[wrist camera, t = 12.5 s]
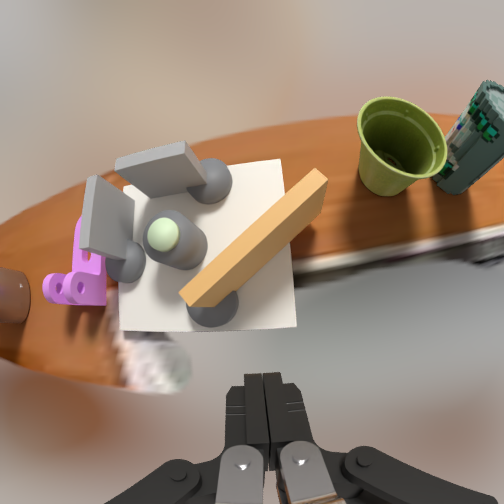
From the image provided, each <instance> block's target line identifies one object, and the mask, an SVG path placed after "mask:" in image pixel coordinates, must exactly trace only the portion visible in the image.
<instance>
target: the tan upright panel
mask: <svg viewBox="0 0 504 504" xmlns="http://www.w3.org/2000/svg"><path fill="white" fill-rule="evenodd" d="M327 183H328V179H327V178H326V177H325V176H324V175H323V174H321V173H320V172H319V171H318V170H317V169H316V168H314V169H313V170H312V171H311V172H310V173H309V174H307V175H306V176H305V177H304V178H303V179H302V180H301V181H299V182H298V183H297V184H296V185H295V186H294V187H293V188H292V189H290V190H289V191H288V192H287V193H286V194H285V195H284V196H283V197H282V198H280V199H279V200H278V201H277V202H276V203H275V204H274V205H273V206H271V207H270V208H269V209H268V210H267V211H266V212H265V213H264V214H263V215H262V216H260V217H259V218H258V219H257V220H256V221H255V222H254V223H253V224H252V225H250V226H249V227H248V228H247V229H246V230H245V231H244V232H243V233H242V234H241V235H240V236H238V237H237V238H236V239H235V240H234V241H233V242H232V243H231V244H230V245H229V246H228V247H226V248H225V249H224V250H223V251H222V252H221V253H220V254H219V255H218V256H217V257H216V258H215V259H214V260H212V261H211V262H210V263H209V264H208V265H207V266H206V267H205V268H204V269H203V270H202V271H201V272H200V273H198V274H197V275H196V276H195V277H194V278H193V279H192V280H191V281H190V282H189V283H188V284H187V285H186V286H185V287H184V288H183V289H181V290H180V291H179V292H178V293H179V294H180V295H181V297H182V298H183V299H184V300H185V302H186V308H187V311H188V313H189V315H190V317H191V318H192V319H193V320H194V321H195V322H196V323H197V324H199V325H201V326H204V327H208V328H213V327H218V326H222V325H225V324H227V323H228V322H229V321H231V320H232V319H233V317H234V316H235V314H236V312H237V309H238V304H239V300H238V295H237V292H236V291H237V290H238V289H239V288H240V287H241V286H242V285H244V284H245V283H246V282H247V281H248V280H249V279H250V278H251V277H252V276H253V275H255V274H256V273H257V272H258V271H259V270H260V269H261V268H262V267H263V266H264V265H265V264H266V263H268V262H269V261H270V260H271V259H272V258H273V257H274V256H275V255H276V254H277V253H278V252H279V251H281V250H282V249H283V248H284V247H285V246H286V245H287V244H288V243H289V242H290V241H291V240H292V239H293V238H295V237H296V236H297V235H298V234H299V233H300V232H301V231H302V230H303V229H304V228H305V227H306V226H307V225H308V224H309V223H311V222H312V221H313V220H314V219H315V218H316V217H317V216H318V215H319V214H320V213H321V210H322V205H323V201H324V197H325V192H326V188H327Z"/></svg>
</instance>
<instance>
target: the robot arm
mask: <svg viewBox="0 0 504 504" xmlns="http://www.w3.org/2000/svg"><path fill="white" fill-rule="evenodd" d="M29 306H30V289H29V284H28V281H27V278H26V276H25V275H24V274H23V273H22V272H20V271H15V270H11V269H6V268H2V267H0V322H2V323H22V322H23V321H24V320H25V319H26V317H27V314H28V311H29ZM225 423H226V424H225V447H224V450H223V451H222V453H221V454H220V455H219V456H218V457H217V458H215V459H213V460H211V461H207V462H203V463H199V464H192V463H191V462H189V461H187V460H182V459H175V460H170V461H168V462H166V463H164V464H163V465H161V466H160V467H159V468H157V469H156V470H155V471H153V472H152V473H150V474H149V475H148V476H146V477H145V478H143V479H142V480H140V481H139V482H138V483H136V484H134V485H133V486H131V487H130V488H129V489H127V490H126V491H124V492H122V493H121V494H119V495H118V496H116V497H114V498H113V499H111V500H110V501H108V502H106V503H105V504H263V488H264V478H265V471H268V463H269V471H274V470H275V471H276V479H277V482H276V489H277V493H278V497H279V502H280V504H498V502H497V500H496V499H495V498H494V497H492V496H490V495H486V494H483V493H479V492H476V491H473V490H470V489H467V488H464V487H461V486H458V485H456V484H453V483H450V482H448V481H445V480H443V479H440V478H438V477H435V476H432V475H430V474H428V473H425V472H423V471H421V470H419V469H416V468H414V467H412V466H410V465H408V464H405V463H403V462H401V461H399V460H397V459H395V458H393V457H391V456H389V455H387V454H385V453H383V452H381V451H379V450H377V449H375V448H373V447H369V446H360V447H356V448H354V449H352V450H351V451H350V452H349V453H339V452H330V451H326V450H324V449H322V448H320V447H319V446H318V445H317V444H316V443H315V442H314V440H313V437H312V433H311V430H310V426H309V422H308V418H307V414H306V411H305V406H304V403H303V398H302V395H301V391H300V390H299V389H298V388H297V386H296V385H295V384H294V383H288V384H283V383H282V378H281V373H280V372H274V373H263V376H262V374H261V373H259V374H244V386H232V387H231V388H230V390H229V392H228V393H227V395H226V421H225Z"/></svg>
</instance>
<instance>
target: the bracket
mask: <svg viewBox="0 0 504 504" xmlns="http://www.w3.org/2000/svg"><path fill="white" fill-rule="evenodd" d="M81 219H82V216H81V217H80V218H79V220H78V222H77V225H76V228H75V236H74V248H73V264H72V272H70V273H68V274H67V275H65V274H60V273H55V274H49V275H47V276H46V277H45V279H44V282H43V293H44V296H45V298H46V299H47V301H49V302H50V303H55V304H68V305H93V306H106V267H105V258H106V257H104V256H101V255H97V254H94V253H91V258H90V260H89V261H88V260H87V256H88V251H84V250H81V249H79V239H80V228H81ZM55 287H56V288H57V290H56V289H55Z"/></svg>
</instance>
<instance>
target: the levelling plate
mask: <svg viewBox="0 0 504 504" xmlns="http://www.w3.org/2000/svg"><path fill="white" fill-rule="evenodd" d="M114 171H115V172H117V173H118V174H119V175H120V176H122V177H123V178H124V179H126V180H127V181H128V182H129V183H131V184H132V185H128V186H124V190H123V192H122V191H120V190H119V189H117V188H116V187H115V186H113V185H112V184H110V183H109V182H107V181H106V180H105V179H103V178H102V177H100V176H99V175H94V176H91V177H88V178H87V184H86V190H85V196H84V203H83V211H82V219H81V228H80V239H79V249H81V250H84V251H88V252H91V253H94V254H97V255H101V256H104V257H106V258H105V267H106V271H107V273H108V275H109V276H110V278H111V279H113V280H114V281H117V282H118V286H119V321H120V330H124V331H154V332H209V331H241V330H260V329H276V328H289V327H296V326H297V323H296V309H295V295H294V283H293V271H292V260H291V249H290V242H289V243H288V244H287V245H286V246H285V247H284V248H283V249H282V250H281V251H279V252H278V253H277V254H276V255H275V256H274V257H273V258H272V259H271V260H270V261H269V262H268V263H266V264H265V265H264V266H263V267H262V268H261V269H260V270H259V271H258V272H257V273H256V274H255V275H253V276H252V277H251V278H250V279H249V280H248V281H247V282H246V283H245V284H244V285H242V286H241V287H240V288H239V289H238V290H237V291H236V292H237V295H238V300H239V304H238V309H237V312H236V314H235V316H234V317H233V319H232V320H231V321H229V322H228V323H227V324H225V325H222V326H218V327H213V328H208V327H204V326H201V325H199V324H197V323H196V322H195V321H194V320H193V319H192V318H191V317H190V315H189V313H188V311H187V308H186V302H185V300H184V299H183V298H182V297H181V295H180V294H179V293H178V292H179V291H180V290H181V289H183V288H184V287H185V286H186V285H187V284H188V283H189V282H190V281H191V280H192V279H193V278H194V277H195V276H196V275H197V274H198V273H200V272H201V271H202V270H203V269H204V268H205V267H206V266H207V265H208V264H209V263H210V262H211V261H212V260H214V259H215V258H216V257H217V256H218V255H219V254H220V253H221V252H222V251H223V250H224V249H225V248H226V247H228V246H229V245H230V244H231V243H232V242H233V241H234V240H235V239H236V238H237V237H238V236H240V235H241V234H242V233H243V232H244V231H245V230H246V229H247V228H248V227H249V226H250V225H252V224H253V223H254V222H255V221H256V220H257V219H258V218H259V217H260V216H262V215H263V214H264V213H265V212H266V211H267V210H268V209H269V208H270V207H271V206H273V205H274V204H275V203H276V202H277V201H278V200H279V199H280V198H282V197H283V196H284V195H285V193H284V184H283V176H282V168H281V160H280V159H276V160H267V161H259V162H251V163H244V164H237V165H230V166H226V164H225V163H224V162H222V161H221V160H218V159H214V158H209V159H204V160H201V161H199V160H198V159H197V157H196V156H195V154H194V153H193V151H192V150H191V148H190V147H189V145H188V144H187V142H186V141H180V142H176V143H172V144H168V145H164V146H160V147H156V148H152V149H148V150H144V151H141V152H137V153H134V154H130V155H127V156H124V157H120V158H117V159H116V164H115V170H114Z"/></svg>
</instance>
